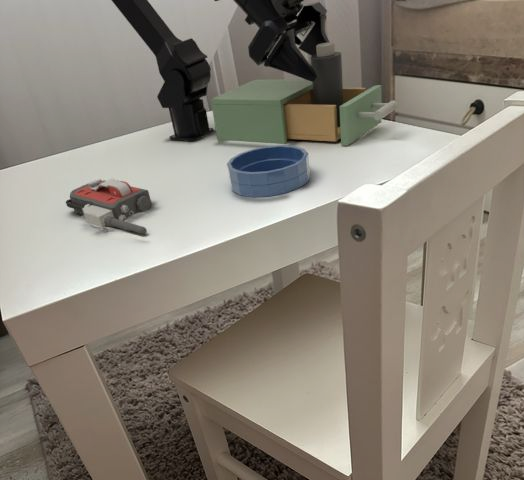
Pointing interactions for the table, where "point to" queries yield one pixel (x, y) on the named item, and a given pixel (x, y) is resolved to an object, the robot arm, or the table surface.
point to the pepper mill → (328, 77)
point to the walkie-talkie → (110, 203)
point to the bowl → (269, 170)
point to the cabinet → (256, 110)
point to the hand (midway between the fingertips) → (326, 72)
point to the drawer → (325, 116)
